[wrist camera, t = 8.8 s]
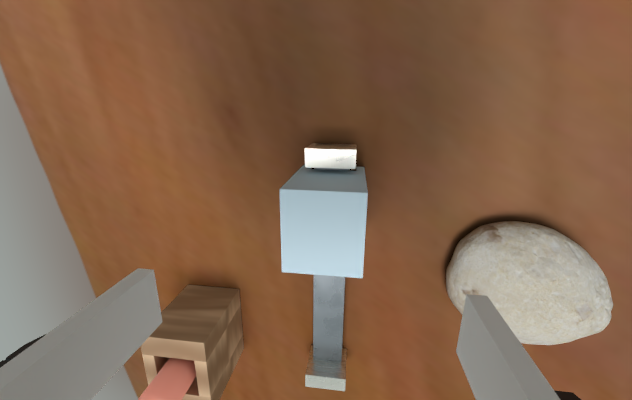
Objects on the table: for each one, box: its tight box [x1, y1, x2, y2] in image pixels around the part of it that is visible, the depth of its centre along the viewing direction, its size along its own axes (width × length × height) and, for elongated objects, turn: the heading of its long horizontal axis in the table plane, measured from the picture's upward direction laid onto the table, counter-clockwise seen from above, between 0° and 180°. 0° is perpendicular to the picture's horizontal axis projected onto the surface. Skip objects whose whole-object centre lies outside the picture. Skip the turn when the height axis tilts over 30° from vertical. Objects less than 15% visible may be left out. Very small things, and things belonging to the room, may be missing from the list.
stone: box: [446, 221, 613, 345], centre depth 26 cm, size 13×10×8 cm
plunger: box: [138, 358, 196, 400], centre depth 28 cm, size 3×3×8 cm
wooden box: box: [141, 285, 244, 400], centre depth 30 cm, size 8×6×8 cm
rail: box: [305, 143, 356, 391], centre depth 28 cm, size 24×4×4 cm, turn 179°
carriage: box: [280, 165, 368, 278], centre depth 24 cm, size 6×6×9 cm
